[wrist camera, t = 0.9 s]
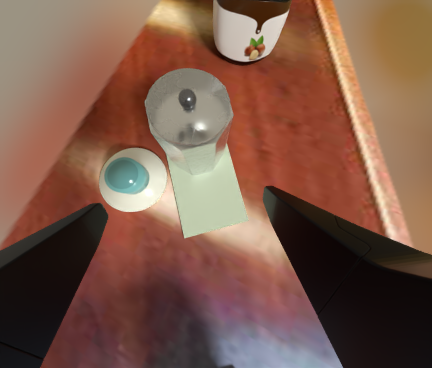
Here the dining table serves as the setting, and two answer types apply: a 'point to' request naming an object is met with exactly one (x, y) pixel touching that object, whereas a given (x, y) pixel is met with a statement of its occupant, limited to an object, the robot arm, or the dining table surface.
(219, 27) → the spread jar
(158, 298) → the dining table surface
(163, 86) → the grey metal canister
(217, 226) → the sage placemat
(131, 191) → the teal puck on dish
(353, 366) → the robot arm
